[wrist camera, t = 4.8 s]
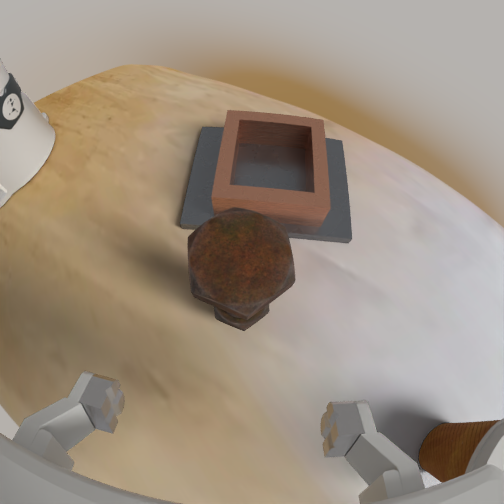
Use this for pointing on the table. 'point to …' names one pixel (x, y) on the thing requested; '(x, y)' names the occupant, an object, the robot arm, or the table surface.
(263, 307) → the bolt
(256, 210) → the socket
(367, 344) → the table surface
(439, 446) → the disposable coffee cup
